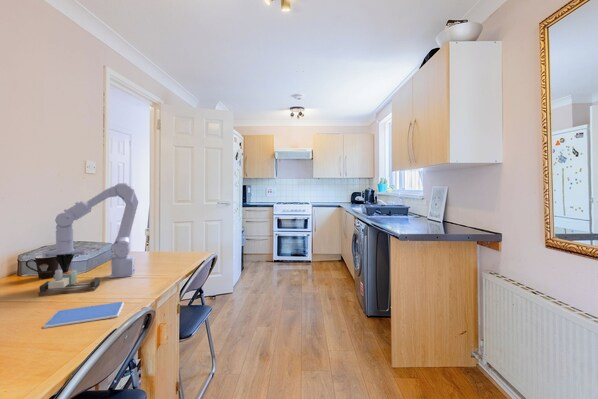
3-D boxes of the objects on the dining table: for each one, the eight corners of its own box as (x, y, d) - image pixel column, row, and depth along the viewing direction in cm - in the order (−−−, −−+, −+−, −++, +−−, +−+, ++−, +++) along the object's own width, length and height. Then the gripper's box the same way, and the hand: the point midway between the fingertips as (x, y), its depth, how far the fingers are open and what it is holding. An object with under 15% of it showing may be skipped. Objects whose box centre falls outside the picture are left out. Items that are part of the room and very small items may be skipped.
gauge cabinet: (76, 281, 125) (76, 270, 125) (71, 285, 120) (71, 274, 120) (60, 282, 123) (59, 271, 123) (53, 287, 118) (53, 275, 118)
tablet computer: (41, 330, 83) (41, 326, 83) (57, 313, 95) (57, 309, 95) (118, 319, 91) (118, 315, 91) (124, 304, 103) (124, 300, 103)
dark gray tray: (100, 284, 122) (100, 276, 122) (94, 290, 114) (94, 282, 114) (48, 289, 115) (48, 280, 115) (38, 296, 108) (38, 287, 108)
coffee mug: (65, 274, 135) (64, 254, 134) (47, 280, 126) (46, 258, 126) (43, 273, 136) (42, 253, 136) (24, 279, 127) (23, 257, 127)
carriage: (69, 283, 117) (68, 268, 116) (63, 287, 112) (63, 271, 112) (54, 284, 115) (53, 269, 115) (48, 289, 110) (47, 272, 110)
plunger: (72, 280, 124) (71, 270, 124) (68, 282, 121) (68, 272, 120) (62, 281, 123) (62, 271, 122) (58, 283, 119) (58, 273, 119)
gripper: (38, 243, 115) (39, 276, 115) (81, 241, 120) (82, 272, 120) (47, 240, 121) (47, 271, 122) (87, 238, 126) (88, 268, 127)
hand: (65, 271), depth 121 cm, fingers closed
